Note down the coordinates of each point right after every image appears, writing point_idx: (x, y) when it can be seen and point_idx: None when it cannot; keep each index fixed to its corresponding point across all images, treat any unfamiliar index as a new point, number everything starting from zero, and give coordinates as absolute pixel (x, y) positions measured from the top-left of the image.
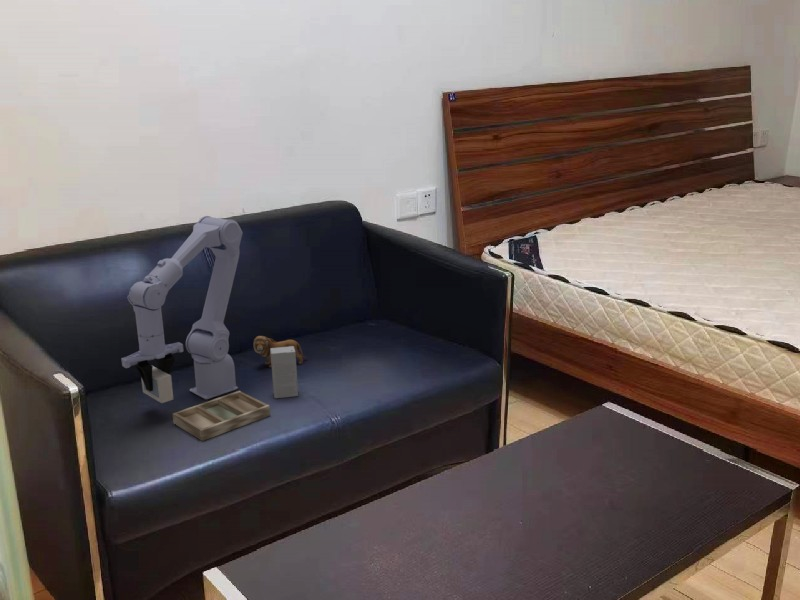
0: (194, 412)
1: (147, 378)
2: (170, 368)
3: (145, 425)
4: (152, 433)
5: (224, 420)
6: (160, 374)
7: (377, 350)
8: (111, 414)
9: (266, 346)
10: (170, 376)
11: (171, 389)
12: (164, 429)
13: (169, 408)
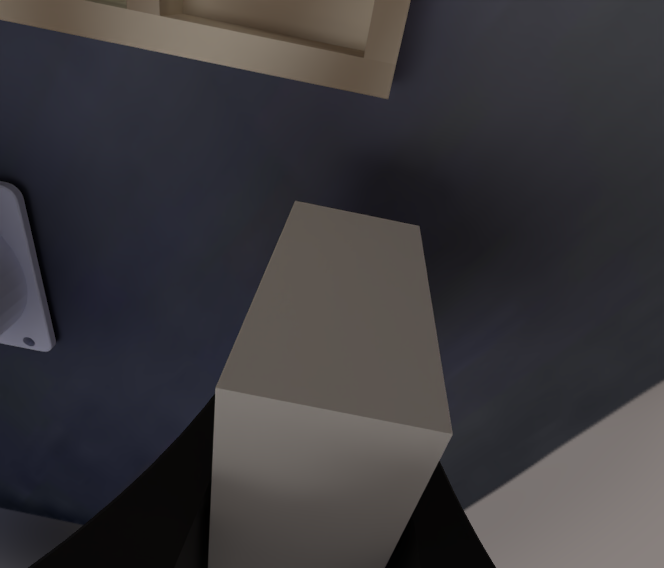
0: (204, 18)
1: (481, 548)
2: (102, 526)
3: (503, 226)
4: (598, 81)
5: None
6: (299, 511)
7: None
8: (471, 443)
9: None
10: (233, 379)
11: (285, 255)
12: (501, 56)
13: (252, 282)
